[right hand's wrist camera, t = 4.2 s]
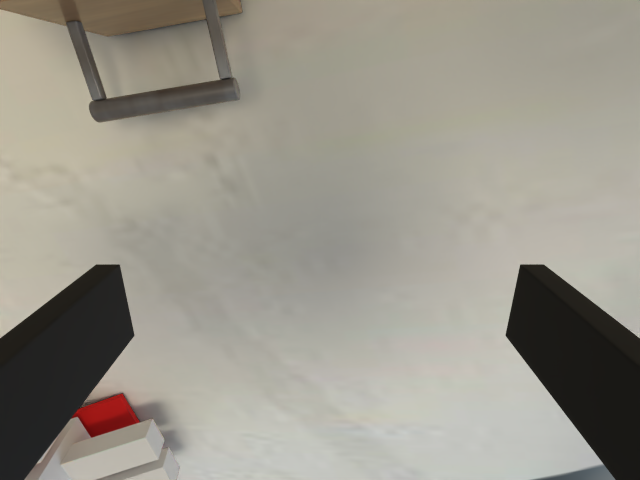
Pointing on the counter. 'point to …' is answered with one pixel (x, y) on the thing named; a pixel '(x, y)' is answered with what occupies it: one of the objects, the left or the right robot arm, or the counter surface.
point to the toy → (107, 447)
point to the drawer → (130, 16)
